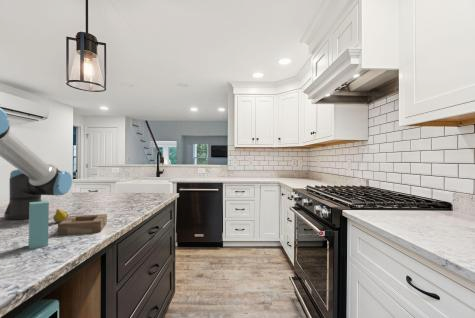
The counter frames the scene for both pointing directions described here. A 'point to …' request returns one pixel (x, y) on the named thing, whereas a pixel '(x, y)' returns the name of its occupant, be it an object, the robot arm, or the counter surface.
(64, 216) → the yellow grooved cone
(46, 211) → the teal peg
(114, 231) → the counter surface
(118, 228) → the counter surface
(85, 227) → the block
